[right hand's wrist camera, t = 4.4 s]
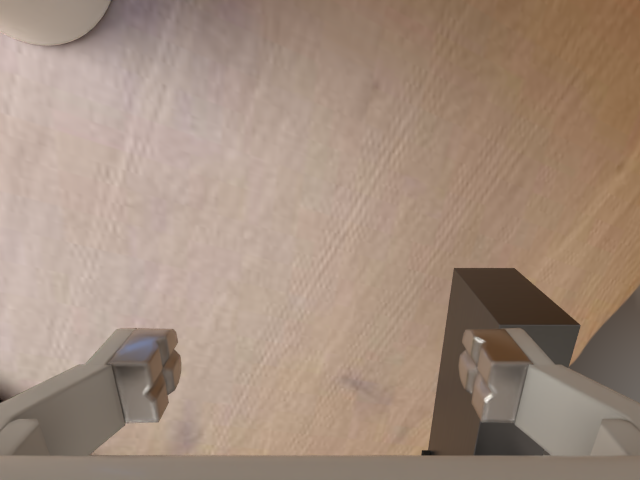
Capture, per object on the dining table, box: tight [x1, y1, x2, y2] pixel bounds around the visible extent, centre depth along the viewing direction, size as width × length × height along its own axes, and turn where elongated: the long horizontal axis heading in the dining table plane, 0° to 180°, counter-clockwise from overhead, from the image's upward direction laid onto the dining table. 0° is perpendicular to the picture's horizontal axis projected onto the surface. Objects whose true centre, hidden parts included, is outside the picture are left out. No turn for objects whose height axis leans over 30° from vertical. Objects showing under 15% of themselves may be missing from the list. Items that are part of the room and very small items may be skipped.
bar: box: [428, 268, 580, 456], centre depth 30 cm, size 24×5×8 cm, turn 0°
